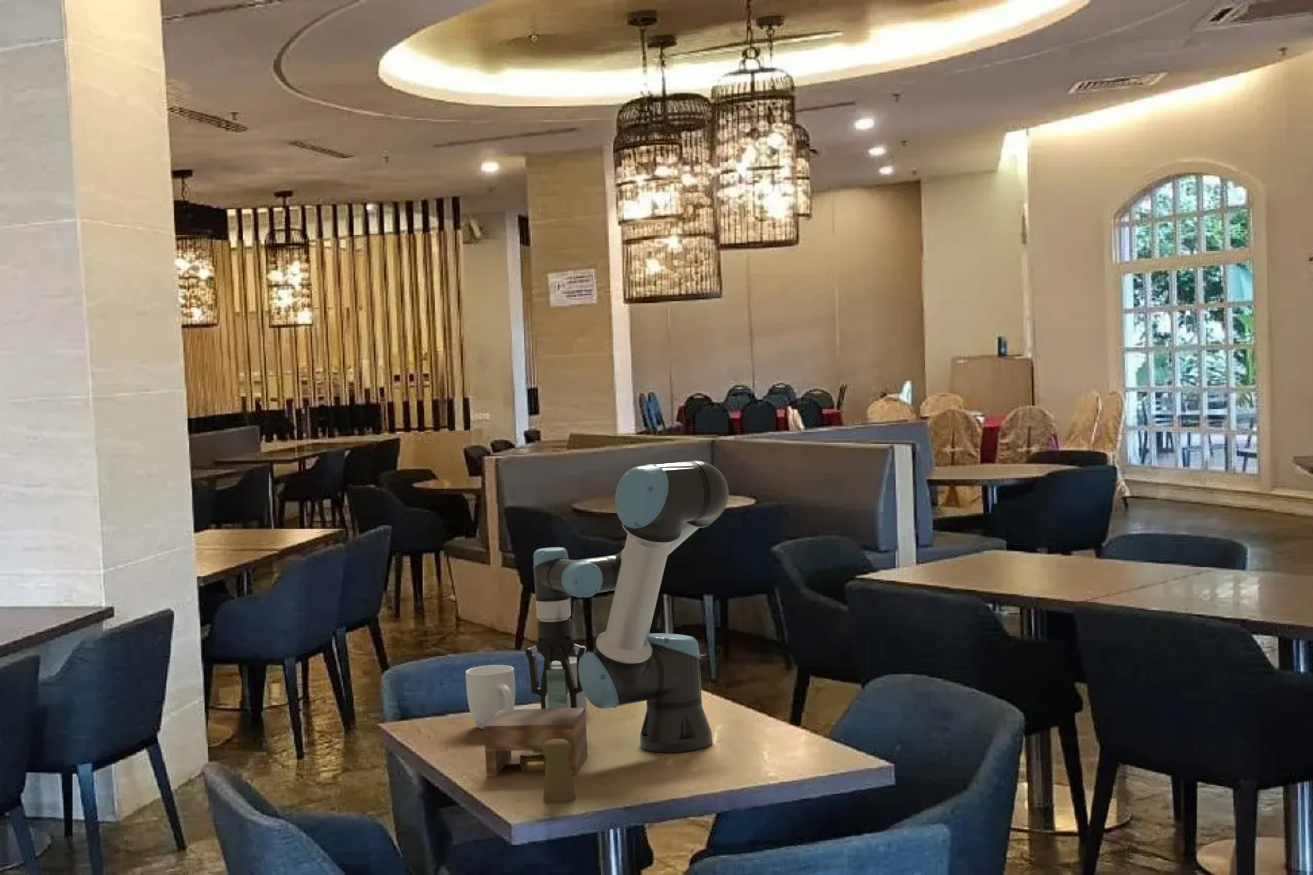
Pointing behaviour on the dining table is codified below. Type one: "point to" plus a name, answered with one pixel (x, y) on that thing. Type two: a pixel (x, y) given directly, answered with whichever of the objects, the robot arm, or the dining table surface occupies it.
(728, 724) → the dining table surface
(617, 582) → the robot arm
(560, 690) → the sweep tool
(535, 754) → the token
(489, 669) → the mug
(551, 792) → the cork
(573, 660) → the speckled white cylinder
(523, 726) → the wooden bench
